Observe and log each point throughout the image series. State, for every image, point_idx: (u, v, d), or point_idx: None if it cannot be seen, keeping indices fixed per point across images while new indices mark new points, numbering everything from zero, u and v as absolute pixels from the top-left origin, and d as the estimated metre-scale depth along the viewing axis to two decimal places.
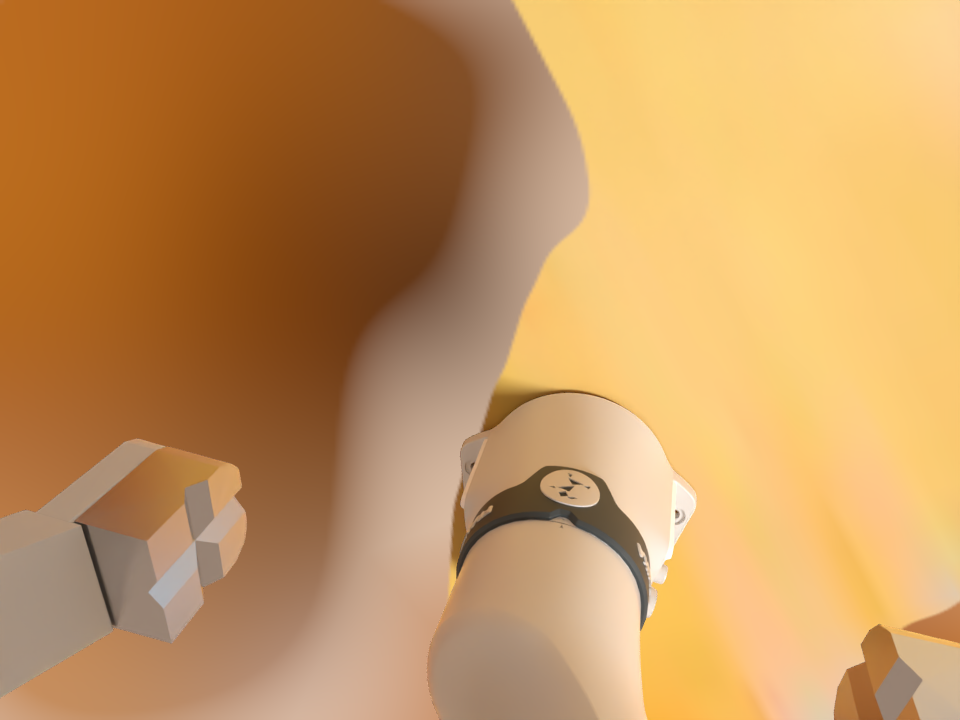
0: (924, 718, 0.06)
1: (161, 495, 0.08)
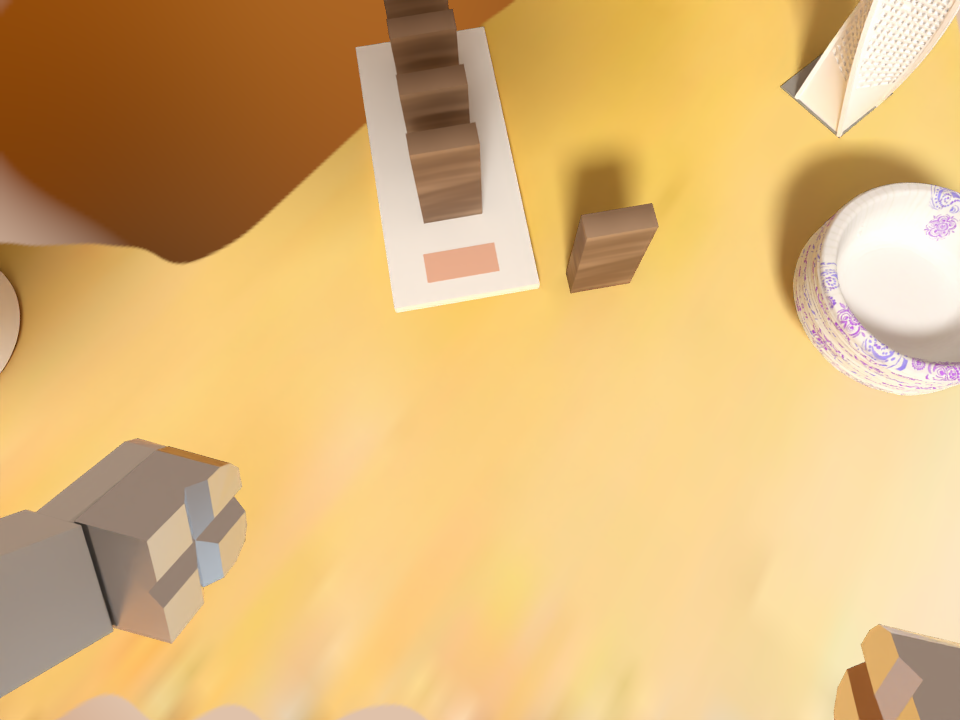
0: (924, 718, 0.06)
1: (161, 495, 0.08)
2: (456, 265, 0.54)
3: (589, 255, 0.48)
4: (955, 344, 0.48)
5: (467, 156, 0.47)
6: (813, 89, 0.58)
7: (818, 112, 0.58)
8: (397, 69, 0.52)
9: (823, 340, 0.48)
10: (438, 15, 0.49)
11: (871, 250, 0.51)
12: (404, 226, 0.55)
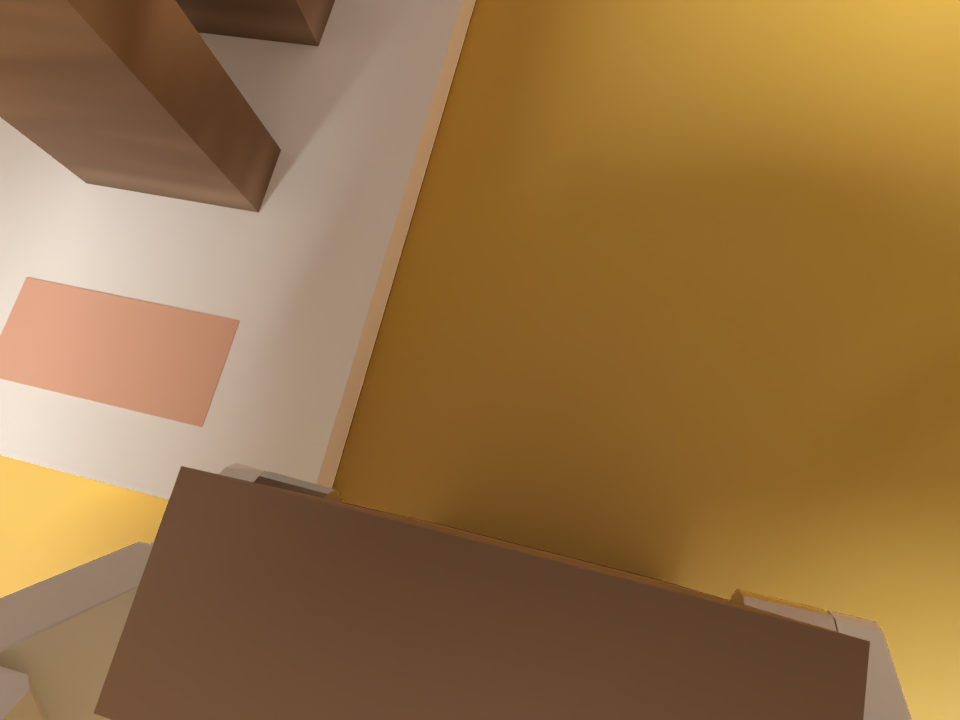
0: None
1: None
2: (91, 352, 0.16)
3: None
4: None
5: None
6: None
7: None
8: None
9: None
10: None
11: None
12: (34, 171, 0.18)
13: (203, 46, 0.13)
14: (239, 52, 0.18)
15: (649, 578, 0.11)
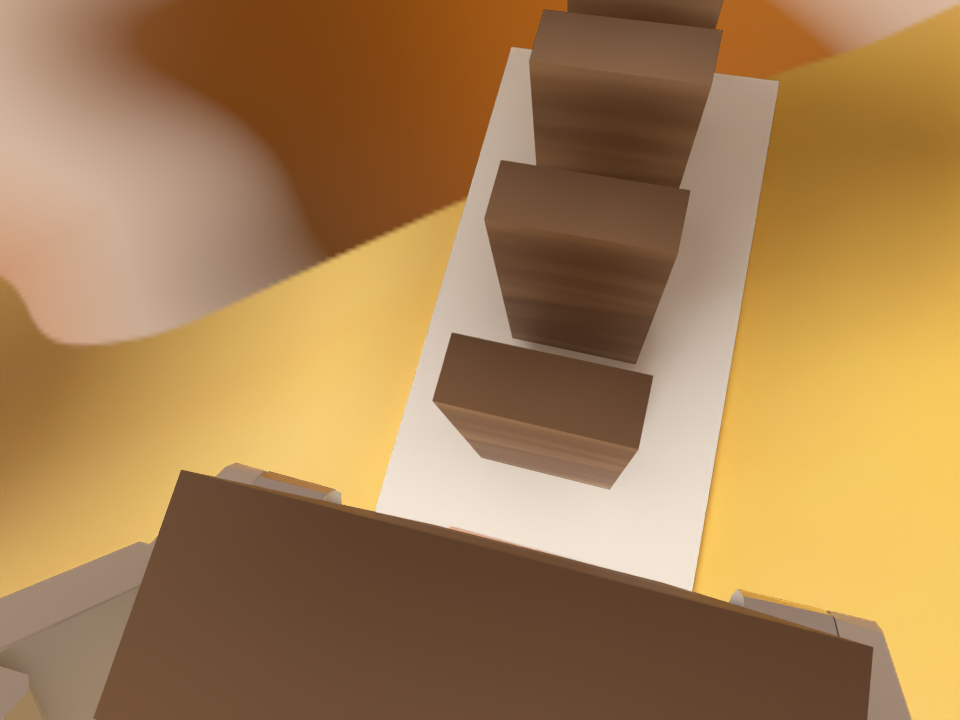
0: None
1: None
2: None
3: None
4: None
5: (596, 448, 0.16)
6: None
7: None
8: (537, 132, 0.22)
9: None
10: (678, 37, 0.18)
11: None
12: (441, 445, 0.26)
13: None
14: None
15: (650, 580, 0.11)
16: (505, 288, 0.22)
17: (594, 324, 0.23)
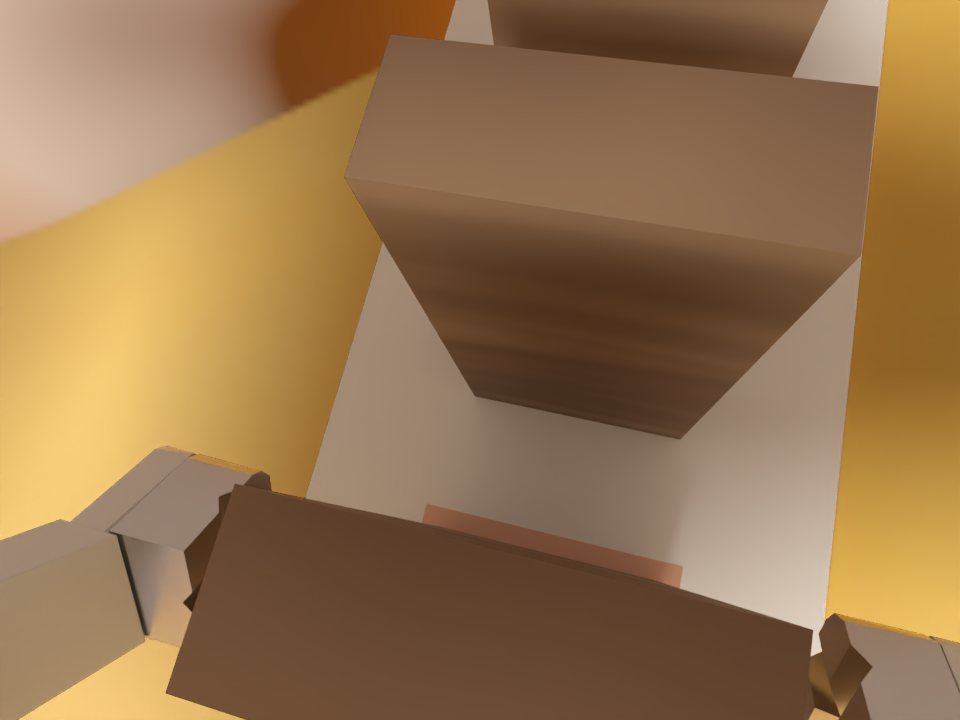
0: (871, 704, 0.06)
1: (195, 504, 0.08)
2: None
3: None
4: None
5: (725, 289, 0.07)
6: None
7: None
8: None
9: None
10: None
11: None
12: (412, 380, 0.17)
13: None
14: None
15: (641, 578, 0.12)
16: None
17: None
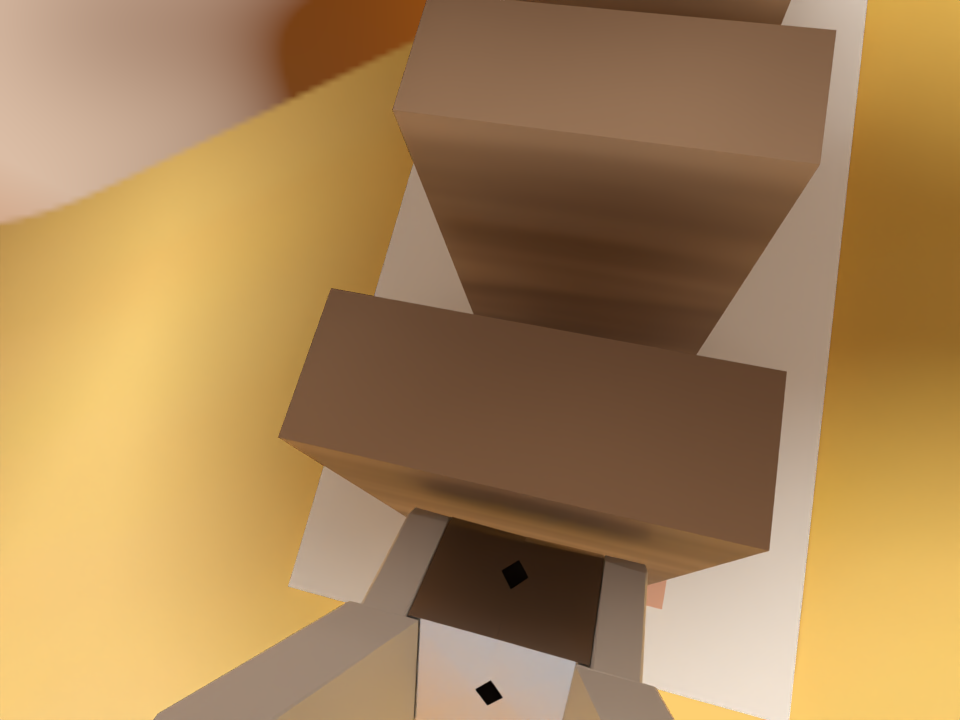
0: (511, 607, 0.07)
1: (481, 580, 0.07)
2: None
3: (393, 495, 0.10)
4: None
5: (711, 207, 0.09)
6: None
7: None
8: None
9: None
10: None
11: None
12: None
13: None
14: None
15: None
16: None
17: None
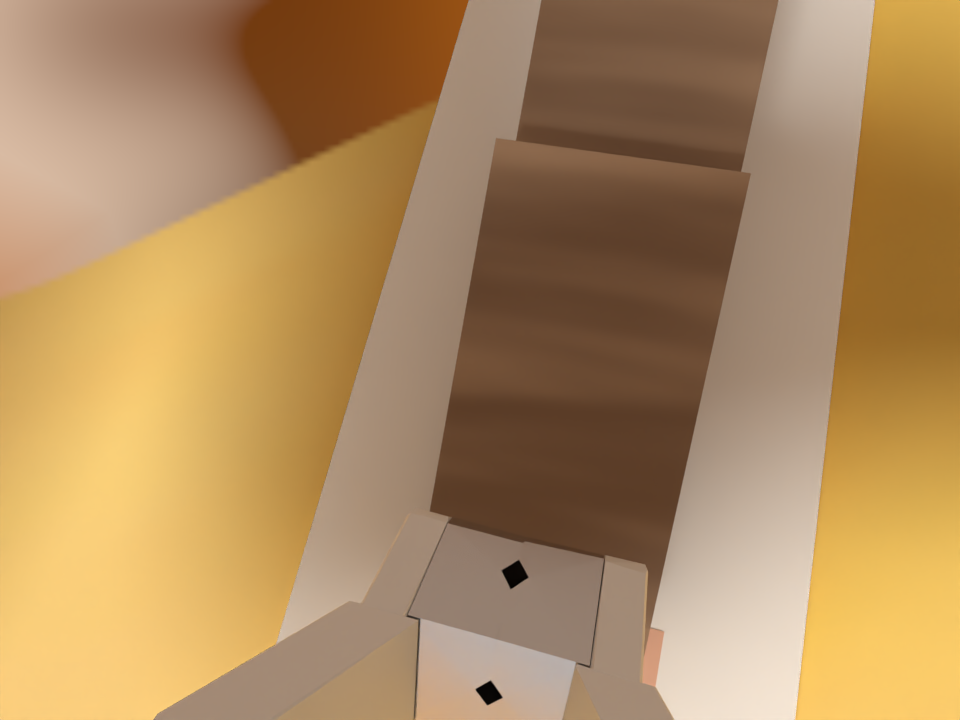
0: (511, 607, 0.07)
1: (482, 580, 0.07)
2: None
3: (497, 286, 0.14)
4: None
5: (728, 19, 0.14)
6: None
7: None
8: None
9: None
10: None
11: None
12: (405, 443, 0.17)
13: None
14: None
15: None
16: None
17: None
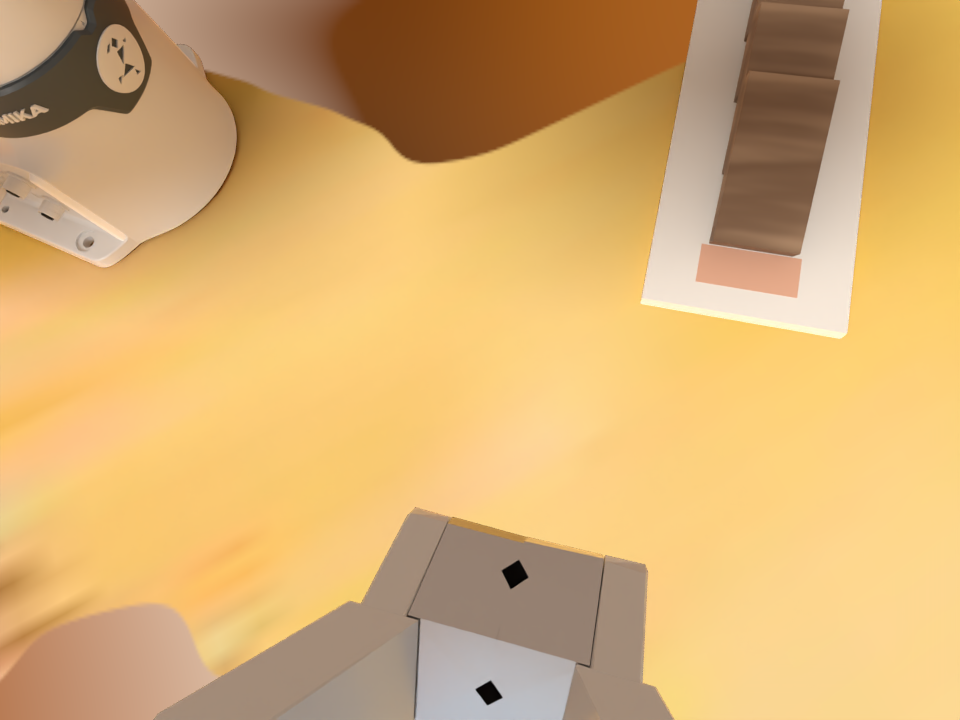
0: (511, 607, 0.07)
1: (482, 580, 0.07)
2: (740, 271, 0.41)
3: (749, 122, 0.39)
4: None
5: (828, 29, 0.39)
6: None
7: None
8: None
9: None
10: None
11: None
12: (689, 200, 0.42)
13: None
14: None
15: None
16: None
17: None
